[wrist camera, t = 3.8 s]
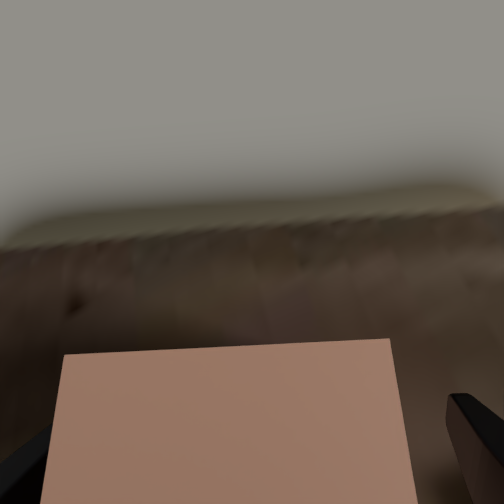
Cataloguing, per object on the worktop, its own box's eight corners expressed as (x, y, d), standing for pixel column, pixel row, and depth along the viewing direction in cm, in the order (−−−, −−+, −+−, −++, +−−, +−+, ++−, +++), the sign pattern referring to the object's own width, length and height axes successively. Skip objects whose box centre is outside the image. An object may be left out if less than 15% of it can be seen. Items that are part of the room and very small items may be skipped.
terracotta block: (355, 507, 13) (491, 930, 3) (227, 504, 14) (-14, 838, 4) (338, 368, 15) (389, 338, 5) (226, 373, 16) (64, 354, 6)
